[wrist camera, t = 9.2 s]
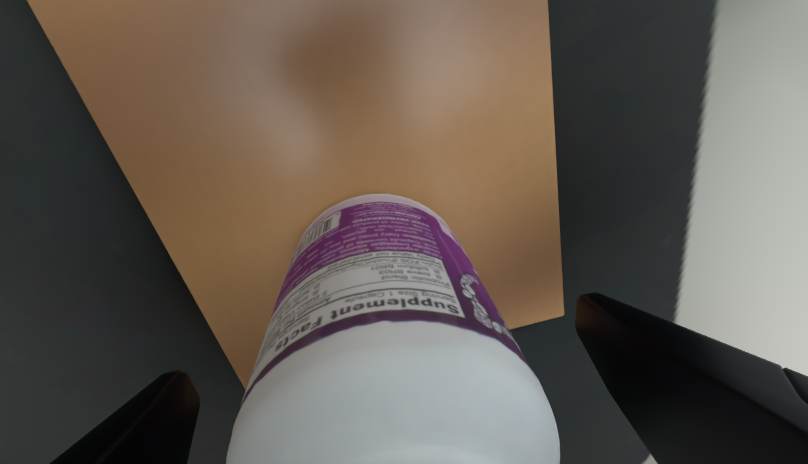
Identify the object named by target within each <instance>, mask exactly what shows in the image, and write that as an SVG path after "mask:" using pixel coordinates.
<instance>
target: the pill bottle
mask: <svg viewBox="0 0 808 464" xmlns="http://www.w3.org/2000/svg"><path fill="white" fill-rule="evenodd" d="M226 464H560V444H559V436H558V430H557V426H556V422H555V418H554V415H553V412H552V409H551V407H550V404H549V402H548V400H547V398H546V396H545V393H544V391H543V389H542V386H541V384H540V382H539V379H538V378H537V376H536V374H535V373H534V371H533V370H532V368H531V367H530V365H529V364H528V362H527V360H526V359H525V357H524V355H523V353H522V351H521V350H520V348H519V346H518V344H517V343H516V341H515V339H514V338H513V336H512V334H511V332H510V331H509V329H508V327H507V325H506V323H505V322H504V320H503V318H502V317H501V315H500V313H499V311H498V310H497V308H496V306H495V304H494V303H493V301H492V299H491V298H490V296H489V294H488V292H487V290H486V289H485V287H484V285H483V284H482V282H481V280H480V278H479V276H478V274H477V272H476V271H475V269H474V267H473V265H472V264H471V262H470V260H469V259H468V257H467V255H466V253H465V251H464V249H463V247H462V246H461V244H460V243H459V241H458V240H457V238H456V236H455V235H454V234H453V232H452V231H451V229H450V228H449V226H448V225H447V224H446V223H445V221H444V220H443V219H442V218H441V217H440V216H438V215H437V214H436V213H435V212H433V211H432V210H431V209H429V208H428V207H426V206H424V205H422V204H421V203H419V202H417V201H414V200H412V199H409V198H406V197H402V196H397V195H392V194H366V195H361V196H357V197H353V198H350V199H347V200H344V201H342V202H340V203H338V204H336V205H334V206H332V207H330V208H328V209H327V210H325V211H324V212H323V213H321V214H320V215H319V216H318V217H317V218H316V219H315V220H314V221H313V222H312V223H311V224H310V225H309V227H308V228H307V229H306V231H305V232H304V234H303V235H302V237H301V239H300V241H299V243H298V245H297V247H296V250H295V253H294V255H293V258H292V260H291V263H290V266H289V269H288V271H287V274H286V276H285V280H284V282H283V285H282V288H281V291H280V293H279V296H278V299H277V302H276V304H275V307H274V310H273V313H272V316H271V319H270V322H269V325H268V327H267V330H266V333H265V337H264V340H263V342H262V345H261V348H260V351H259V354H258V357H257V360H256V363H255V366H254V369H253V372H252V375H251V377H250V380H249V383H248V386H247V389H246V392H245V395H244V397H243V400H242V403H241V406H240V409H239V411H238V414H237V416H236V419H235V423H234V426H233V432H232V437H231V441H230V444H229V448H228V453H227V459H226Z"/></svg>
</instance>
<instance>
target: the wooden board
mask: <svg viewBox="0 0 808 464" xmlns="http://www.w3.org/2000/svg"><path fill="white" fill-rule="evenodd" d="M27 2H28V4H29V6H30V7H31V9H32V11H33V13H34V14H35V16H36V18H37V20H38V22H39V23H40V25H41V27H42V29H43V31H44V32H45V34H46V36H47V38H48V39H49V41H50V43H51V45H52V47H53V48H54V50H55V52H56V54H57V55H58V57H59V59H60V61H61V63H62V64H63V66H64V68H65V70H66V71H67V73H68V75H69V77H70V79H71V80H72V82H73V84H74V86H75V87H76V89H77V91H78V93H79V95H80V96H81V98H82V100H83V102H84V103H85V105H86V107H87V109H88V111H89V112H90V114H91V116H92V118H93V119H94V121H95V123H96V125H97V127H98V128H99V130H100V132H101V134H102V136H103V137H104V139H105V141H106V143H107V144H108V146H109V148H110V150H111V152H112V153H113V155H114V157H115V159H116V160H117V162H118V164H119V166H120V168H121V169H122V171H123V173H124V175H125V176H126V178H127V180H128V182H129V184H130V185H131V187H132V189H133V191H134V192H135V194H136V196H137V198H138V200H139V201H140V203H141V205H142V207H143V208H144V210H145V212H146V214H147V216H148V217H149V219H150V221H151V223H152V225H153V226H154V228H155V230H156V232H157V233H158V235H159V237H160V239H161V241H162V242H163V244H164V246H165V248H166V249H167V251H168V253H169V255H170V257H171V258H172V260H173V262H174V264H175V265H176V267H177V269H178V271H179V273H180V274H181V276H182V278H183V280H184V281H185V283H186V285H187V287H188V289H189V290H190V292H191V294H192V296H193V297H194V299H195V301H196V303H197V305H198V306H199V308H200V310H201V312H202V313H203V315H204V317H205V319H206V321H207V322H208V324H209V326H210V328H211V330H212V331H213V333H214V335H215V337H216V338H217V340H218V342H219V344H220V346H221V347H222V349H223V351H224V353H225V354H226V356H227V358H228V360H229V362H230V363H231V365H232V367H233V369H234V370H235V372H236V374H237V376H238V378H239V379H240V381H241V383H242V385H243V386H244V388H245V390H246V389H247V386H248V383H249V380H250V377H251V375H252V372H253V369H254V366H255V363H256V360H257V357H258V354H259V351H260V348H261V345H262V342H263V340H264V337H265V333H266V330H267V327H268V325H269V322H270V319H271V316H272V313H273V310H274V307H275V304H276V302H277V299H278V296H279V293H280V291H281V288H282V285H283V282H284V280H285V276H286V274H287V271H288V269H289V266H290V263H291V260H292V258H293V255H294V253H295V250H296V247H297V245H298V243H299V241H300V239H301V237H302V235H303V234H304V232H305V231H306V229H307V228H308V227H309V225H310V224H311V223H312V222H313V221H314V220H315V219H316V218H317V217H318V216H319V215H320V214H321V213H323V212H324V211H325V210H327V209H328V208H330V207H332V206H334V205H336V204H338V203H340V202H342V201H344V200H347V199H350V198H353V197H357V196H361V195H366V194H392V195H397V196H402V197H406V198H409V199H412V200H414V201H417V202H419V203H421V204H422V205H424V206H426V207H428V208H429V209H431V210H432V211H433V212H435V213H436V214H437V215H438V216H440V217H441V218H442V219H443V220H444V221H445V223H446V224H447V225H448V226H449V228H450V229H451V231H452V232H453V234H454V235H455V236H456V238H457V240H458V241H459V243H460V244H461V246H462V247H463V249H464V251H465V253H466V255H467V257H468V259H469V260H470V262H471V264H472V265H473V267H474V269H475V271H476V272H477V274H478V276H479V278H480V280H481V282H482V284H483V285H484V287H485V289H486V290H487V292H488V294H489V296H490V298H491V299H492V301H493V303H494V304H495V306H496V308H497V310H498V311H499V313H500V315H501V317H502V318H503V320H504V322H505V323H506V325H507V327H508V329H509V330H510V329H514V328H518V327H522V326H525V325H529V324H533V323H537V322H541V321H545V320H549V319H553V318H557V317H561V316H564V300H563V280H562V261H561V242H560V223H559V204H558V185H557V166H556V147H555V128H554V109H553V90H552V71H551V52H550V33H549V14H548V0H27Z"/></svg>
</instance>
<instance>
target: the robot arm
mask: <svg viewBox="0 0 808 464" xmlns="http://www.w3.org/2000/svg"><path fill="white" fill-rule="evenodd" d="M575 327H576V331H577V334H578V336H579V338H580V339H581V341H582V343H583V345H584V347H585V349H586V350H587V352H588V354H589V356H590V358H591V360H592V362H593V363H594V365H595V367H596V369H597V371H598V373H599V375H600V376H601V378H602V380H603V382H604V384H605V386H606V387H607V389H608V391H609V392H610V394H611V396H612V397H613V399H614V400H615V402H616V403H617V405H618V406H619V408H620V409H621V411H622V412H623V413H624V415H625V416H626V418H627V419H628V421H629V422H630V424H631V425H632V427H633V428H634V430H635V431H636V433H637V434H638V435H639V437H640V438H641V440H642V441H643V443H644V444H645V446H646V447H647V449H648V450H649V452H650V453H651V455H652V456H653V457H654V459H655V460H656V462H657V463H658V464H808V376H805V375H803V374H800V373H798V372H795V371H793V370H790V369H788V368H783V369H782V367H781V366H780V365H778V364H775V363H773V362H770V361H767V360H765V359H762V358H760V357H757V356H755V355H752V354H750V353H747V352H745V351H742V350H740V349H737V348H735V347H732V346H730V345H727V344H725V343H722V342H720V341H717V340H715V339H712V338H710V337H707V336H705V335H702V334H700V333H697V332H695V331H692V330H690V329H687V328H685V327H682V326H680V325H677V324H675V323H672V322H669V321H667V320H664V319H662V318H659V317H657V316H654V315H652V314H649V313H647V312H644V311H642V310H639V309H637V308H634V307H632V306H629V305H627V304H624V303H622V302H619V301H617V300H614V299H612V298H609V297H607V296H604V295H602V294H599V293H589V294H583V295H580V296H578V298H577V301H576V316H575ZM199 407H200V398H199V395H198V393H197V391H196V389H195V387H194V385H193V383H192V381H191V379H190V377H189V375H188V374H187V372H186V371H184V370H177V371H172V372H167V373H164V374H162V375H161V376H159V377H158V378H157V379H156V380H154V381H153V382H152V383H151V384H149V385H148V386H147V387H146V388H144V389H143V390H142V391H141V392H139V393H138V394H137V395H136V396H134V397H133V398H132V399H130V400H129V401H128V402H127V403H125V404H124V405H123V406H122V407H120V408H119V409H118V410H117V411H115V412H114V413H113V414H112V415H110V416H109V417H108V418H107V419H105V420H104V421H103V422H101V423H100V424H99V425H98V426H96V427H95V428H94V429H93V430H91V431H90V432H89V433H88V434H86V435H85V436H84V437H83V438H81V439H80V440H79V441H78V442H76V443H75V444H74V445H73V446H71V447H70V448H69V449H67V450H66V451H65V452H64V453H62V454H61V455H60V456H59V457H57V458H56V459H55V460H54V461H52V462H51V463H50V464H187V461H188V457H189V452H190V448H191V443H192V439H193V434H194V430H195V425H196V421H197V417H198V412H199Z"/></svg>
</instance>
